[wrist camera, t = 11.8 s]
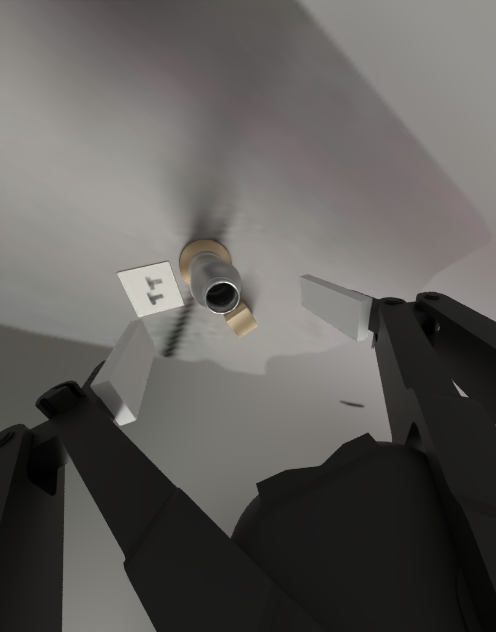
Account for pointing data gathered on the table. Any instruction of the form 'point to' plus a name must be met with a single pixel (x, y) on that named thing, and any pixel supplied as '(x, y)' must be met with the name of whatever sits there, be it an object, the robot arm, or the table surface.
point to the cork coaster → (196, 248)
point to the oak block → (241, 320)
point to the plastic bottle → (214, 282)
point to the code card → (151, 288)
